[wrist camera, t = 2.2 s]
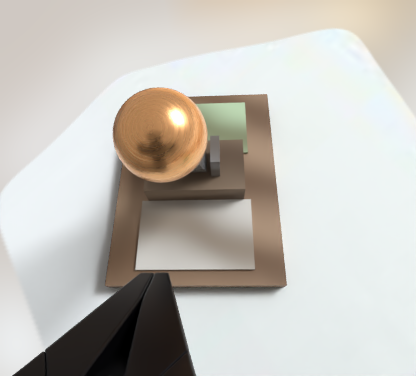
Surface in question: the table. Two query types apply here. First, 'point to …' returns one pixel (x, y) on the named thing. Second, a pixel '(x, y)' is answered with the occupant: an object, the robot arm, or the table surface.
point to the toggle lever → (161, 135)
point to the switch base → (207, 209)
